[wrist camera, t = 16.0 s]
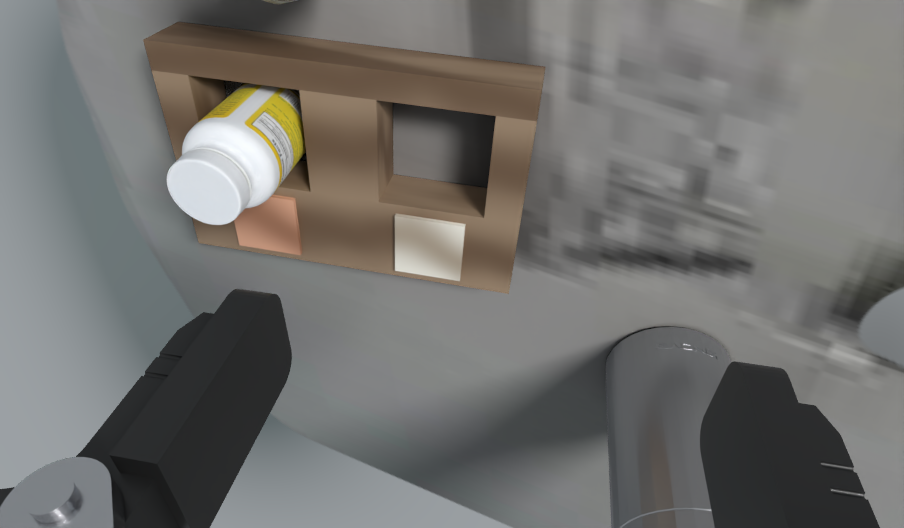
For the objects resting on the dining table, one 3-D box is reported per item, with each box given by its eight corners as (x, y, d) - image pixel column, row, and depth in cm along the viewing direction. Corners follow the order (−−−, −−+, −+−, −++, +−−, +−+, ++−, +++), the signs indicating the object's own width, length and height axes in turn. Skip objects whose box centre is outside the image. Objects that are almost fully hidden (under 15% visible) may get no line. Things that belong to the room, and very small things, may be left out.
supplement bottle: (236, 133, 38) (151, 213, 31) (243, 58, 35) (150, 127, 27) (313, 164, 39) (248, 250, 31) (327, 92, 35) (258, 170, 28)
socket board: (513, 261, 41) (508, 296, 38) (223, 215, 43) (196, 245, 40) (545, 66, 32) (541, 92, 29) (177, 21, 34) (139, 41, 31)
